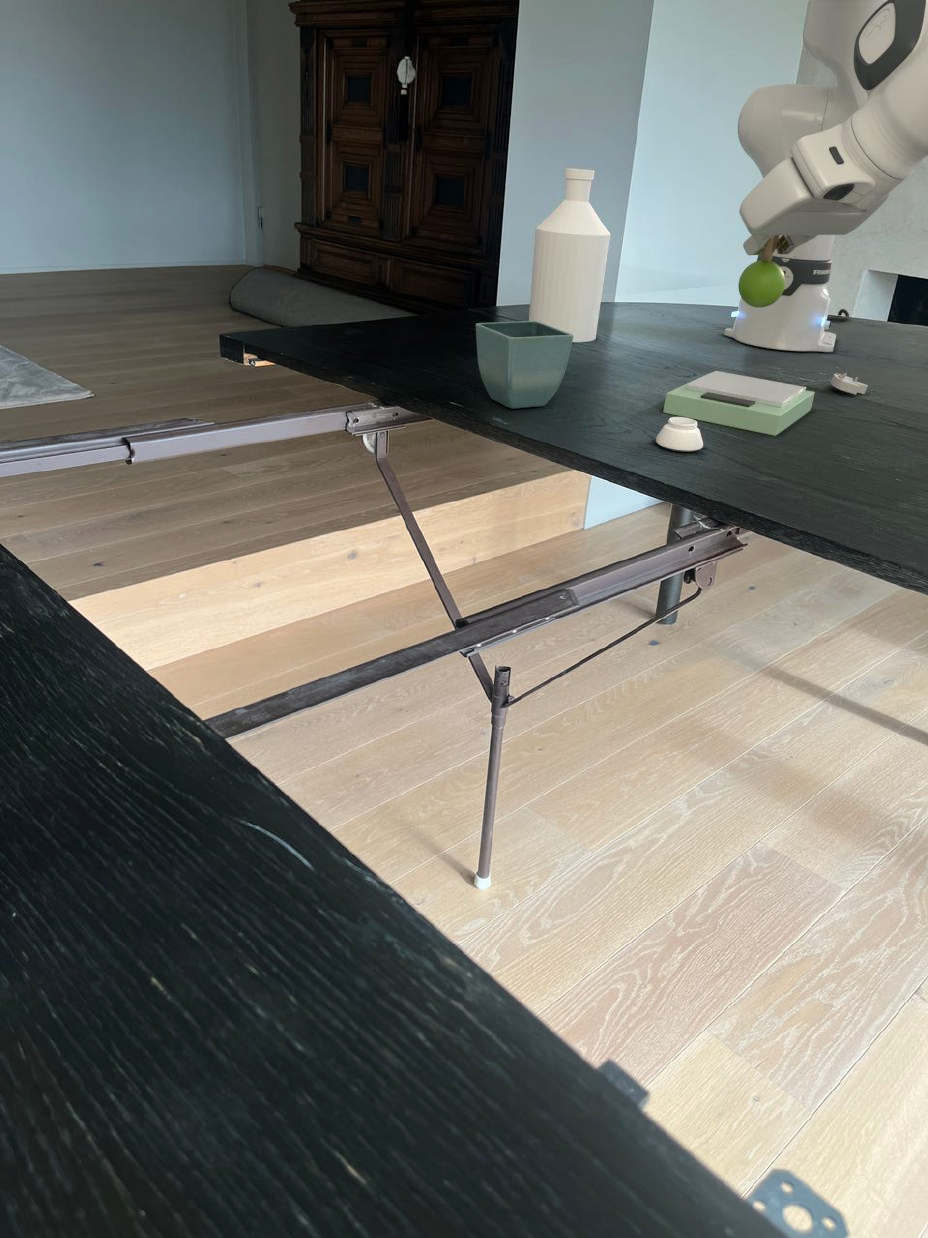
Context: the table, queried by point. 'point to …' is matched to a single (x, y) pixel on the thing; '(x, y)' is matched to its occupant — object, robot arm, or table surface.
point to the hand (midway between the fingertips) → (764, 250)
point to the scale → (740, 402)
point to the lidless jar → (680, 435)
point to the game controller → (847, 384)
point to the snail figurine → (762, 279)
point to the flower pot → (522, 361)
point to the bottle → (570, 262)
